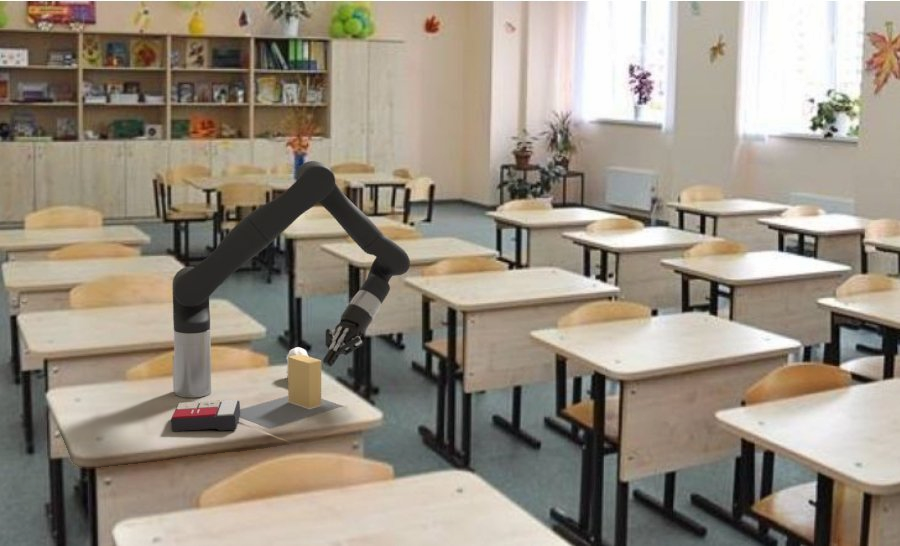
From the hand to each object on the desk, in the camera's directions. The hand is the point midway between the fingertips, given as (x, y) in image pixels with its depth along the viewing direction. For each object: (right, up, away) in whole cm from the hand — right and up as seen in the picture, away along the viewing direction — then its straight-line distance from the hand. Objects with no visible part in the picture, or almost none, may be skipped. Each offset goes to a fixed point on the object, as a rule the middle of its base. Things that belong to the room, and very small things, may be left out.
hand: (326, 364), depth 275 cm
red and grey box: (-27, -13, -19) cm, 35 cm away
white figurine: (-10, -6, +16) cm, 20 cm away
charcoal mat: (-9, -11, -8) cm, 16 cm away
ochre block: (-5, -10, -4) cm, 12 cm away
